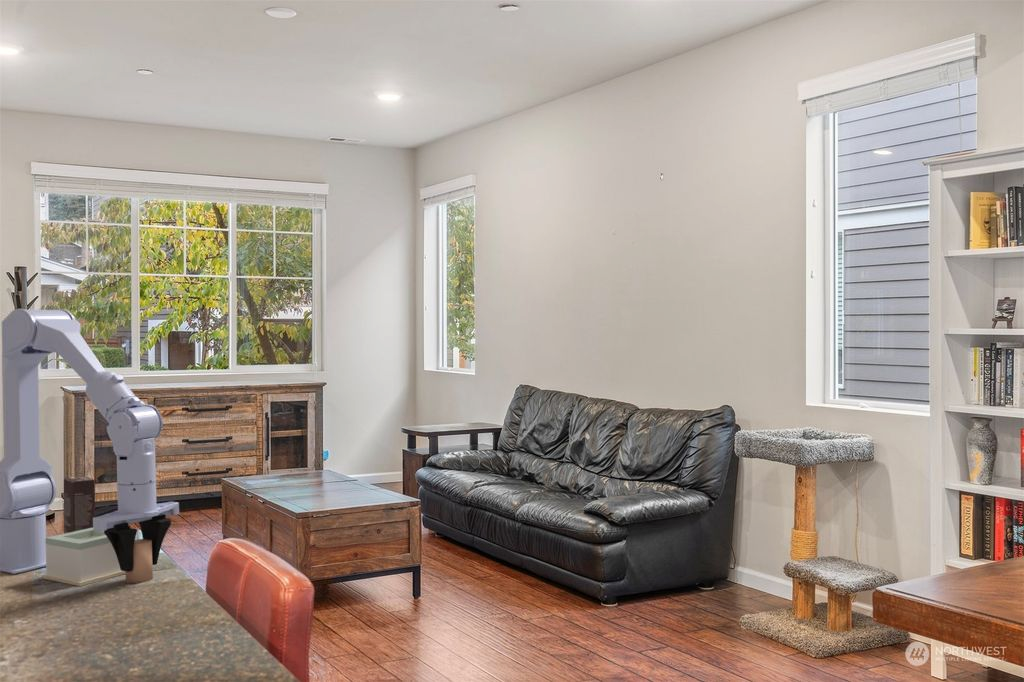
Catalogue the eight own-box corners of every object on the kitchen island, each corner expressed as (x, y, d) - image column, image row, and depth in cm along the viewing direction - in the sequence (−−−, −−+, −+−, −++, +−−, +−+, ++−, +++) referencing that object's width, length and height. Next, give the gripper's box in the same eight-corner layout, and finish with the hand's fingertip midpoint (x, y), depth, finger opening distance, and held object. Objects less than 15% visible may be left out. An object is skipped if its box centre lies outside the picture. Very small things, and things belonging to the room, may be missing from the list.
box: (97, 542, 176) (95, 478, 176) (71, 546, 173) (69, 481, 173) (88, 537, 181) (86, 475, 181) (63, 541, 178) (61, 478, 178)
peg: (120, 580, 149) (119, 543, 149) (141, 574, 152) (140, 538, 152) (136, 584, 147) (135, 545, 147) (158, 577, 150) (157, 540, 150)
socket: (41, 578, 151) (40, 538, 151) (97, 564, 160) (96, 526, 160) (79, 586, 146) (78, 544, 146) (135, 571, 155) (134, 531, 155)
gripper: (112, 491, 141) (114, 581, 141) (190, 477, 153) (192, 559, 154) (83, 488, 145) (85, 575, 145) (162, 474, 157) (164, 555, 157)
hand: (139, 567), depth 150 cm, fingers closed on peg, 4 cm apart
